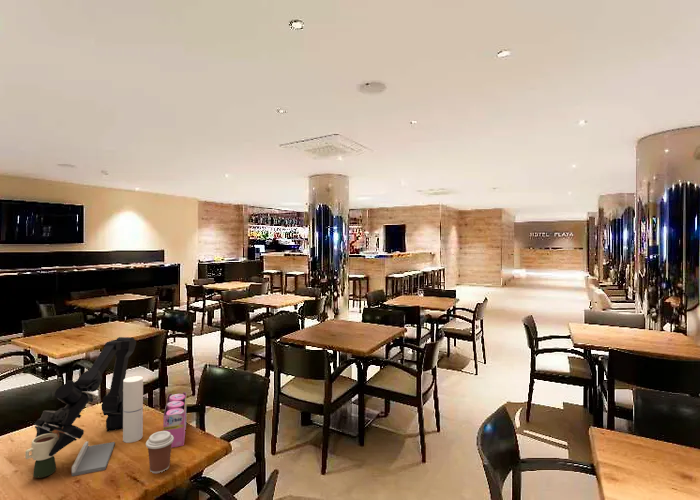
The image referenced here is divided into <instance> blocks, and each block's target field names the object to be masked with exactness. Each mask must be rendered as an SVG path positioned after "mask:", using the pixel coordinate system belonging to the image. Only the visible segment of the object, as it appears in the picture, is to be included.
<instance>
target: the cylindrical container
mask: <svg viewBox="0 0 700 500" xmlns="http://www.w3.org/2000/svg"><path fill="white" fill-rule="evenodd" d="M143 424H144V377H143V376H142V375H141V376H140V375H134V376H128V377H125V379H124V380H123V429H122V442H123V443H127V444H129V443H130V444H131V443H135V442H138V441H139V440H141V439H142V438H143V436H144V435H143V433H144V432H143V431H144V429H143V427H144V425H143Z"/></svg>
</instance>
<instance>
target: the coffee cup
mask: <svg viewBox="0 0 700 500" xmlns="http://www.w3.org/2000/svg"><path fill="white" fill-rule="evenodd" d="M173 440H174V437H173V435H171V433H170V432H168V431H163V430H161V431H159V430H158V431H155V432H154V433H152V434H150V436H149V437H148V439H147V440H146V442H145V447H146V448H147V450H148V461H149V471H150V473H151V472H152V473H151V474H161V473H163V471H164V472H166V471H167V470H168V469H170V466H171V465H170V464H171V456H172V455H171V452H172V448H171V445H172V442H173ZM165 470H166V471H165ZM160 472H161V473H160Z"/></svg>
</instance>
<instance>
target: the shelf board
mask: <svg viewBox="0 0 700 500" xmlns="http://www.w3.org/2000/svg"><path fill="white" fill-rule="evenodd" d="M115 445H116V442H115V441H112V442H105V443H99V444H94V445H89V440H88V441H85V442H84V443H83V445H82V447H81V448H80V450H79V452H78V454H77V456H76V458H75V461H74V462H73V464H72V466H71V477H75V476H80V475H85V474H92V473H96V472H101V471H106V469H107V467H108V464H109V462H110V459H111V456H112V453H113V450H114V448H115Z"/></svg>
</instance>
